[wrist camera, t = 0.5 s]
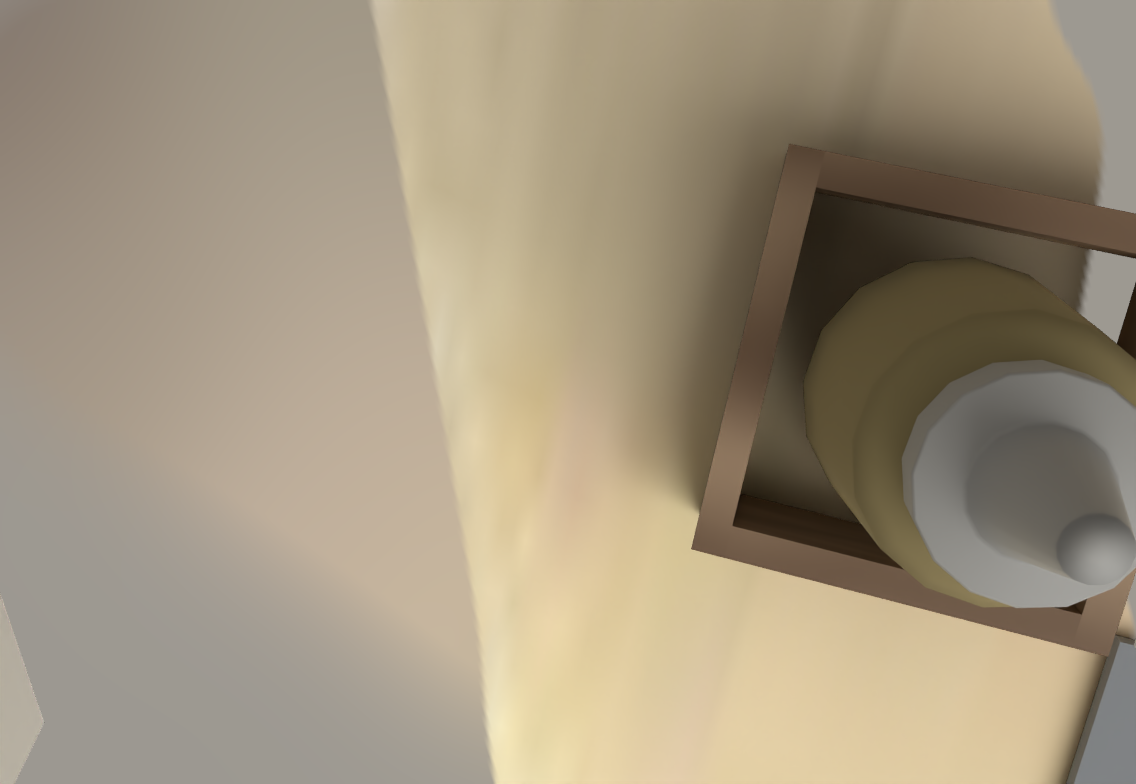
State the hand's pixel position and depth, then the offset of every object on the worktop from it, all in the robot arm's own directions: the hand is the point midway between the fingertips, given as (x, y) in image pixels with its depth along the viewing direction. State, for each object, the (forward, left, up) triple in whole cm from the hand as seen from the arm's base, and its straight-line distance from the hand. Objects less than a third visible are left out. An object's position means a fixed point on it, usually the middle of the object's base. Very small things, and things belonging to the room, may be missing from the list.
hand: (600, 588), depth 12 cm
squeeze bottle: (-1, +7, -24) cm, 25 cm away
